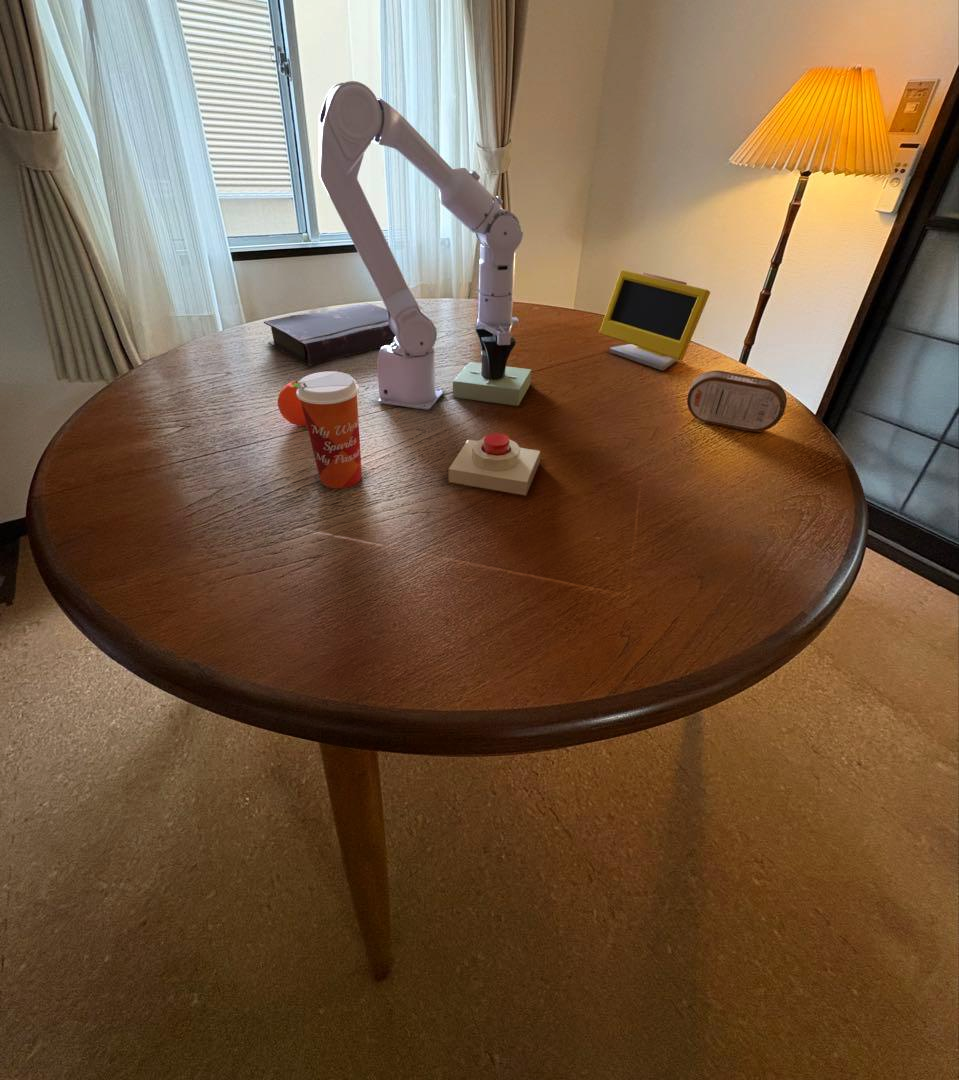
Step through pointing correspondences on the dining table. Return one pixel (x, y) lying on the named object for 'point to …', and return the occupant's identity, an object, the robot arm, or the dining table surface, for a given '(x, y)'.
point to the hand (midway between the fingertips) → (493, 372)
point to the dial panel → (492, 385)
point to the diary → (331, 333)
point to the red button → (496, 444)
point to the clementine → (291, 404)
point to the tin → (736, 400)
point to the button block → (495, 468)
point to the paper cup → (332, 426)
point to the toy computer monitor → (653, 318)
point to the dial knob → (486, 366)
